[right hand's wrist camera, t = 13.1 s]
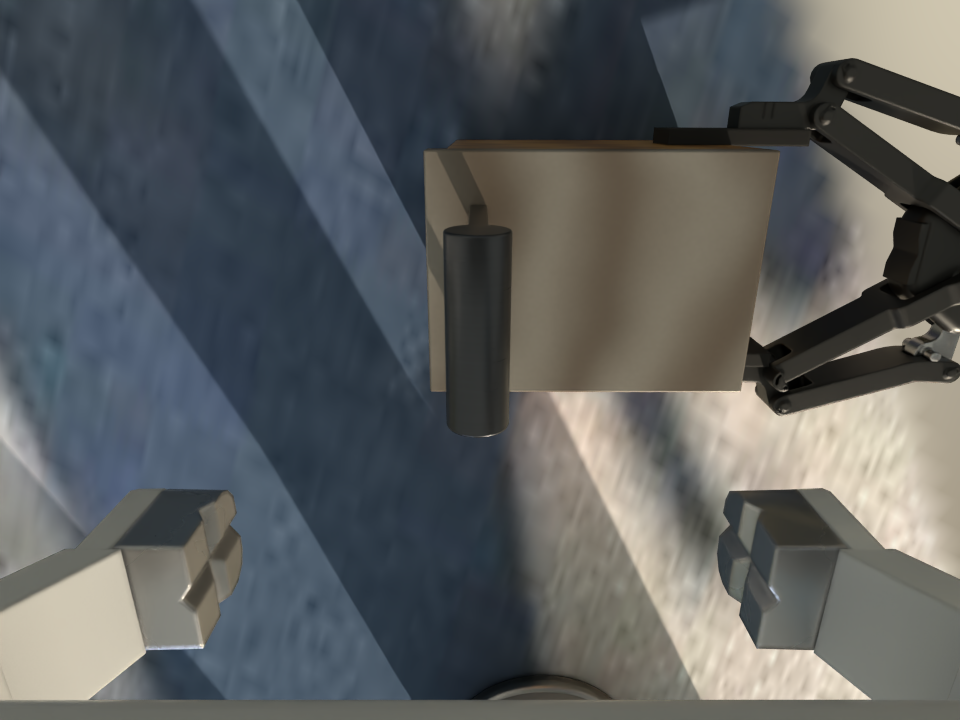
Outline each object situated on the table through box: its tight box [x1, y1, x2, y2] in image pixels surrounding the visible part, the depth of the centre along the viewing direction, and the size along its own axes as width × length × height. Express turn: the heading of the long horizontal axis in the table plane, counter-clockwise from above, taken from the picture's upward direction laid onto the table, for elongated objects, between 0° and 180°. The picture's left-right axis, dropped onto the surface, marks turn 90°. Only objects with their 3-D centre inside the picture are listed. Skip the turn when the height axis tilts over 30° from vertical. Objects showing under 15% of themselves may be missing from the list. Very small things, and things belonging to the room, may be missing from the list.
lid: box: [423, 148, 780, 438], centre depth 23 cm, size 14×10×9 cm
